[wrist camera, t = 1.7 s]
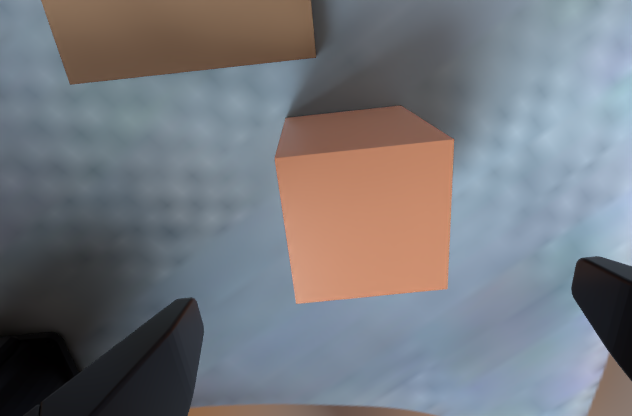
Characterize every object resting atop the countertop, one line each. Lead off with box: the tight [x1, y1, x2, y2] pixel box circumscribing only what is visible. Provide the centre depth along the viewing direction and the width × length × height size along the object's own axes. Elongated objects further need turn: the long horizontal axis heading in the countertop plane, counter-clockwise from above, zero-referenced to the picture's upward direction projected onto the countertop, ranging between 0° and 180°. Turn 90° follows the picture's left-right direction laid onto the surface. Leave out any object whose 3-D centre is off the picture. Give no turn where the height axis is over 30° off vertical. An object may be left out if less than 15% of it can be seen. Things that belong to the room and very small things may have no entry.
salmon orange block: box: [275, 105, 454, 304], centre depth 15 cm, size 5×5×7 cm
